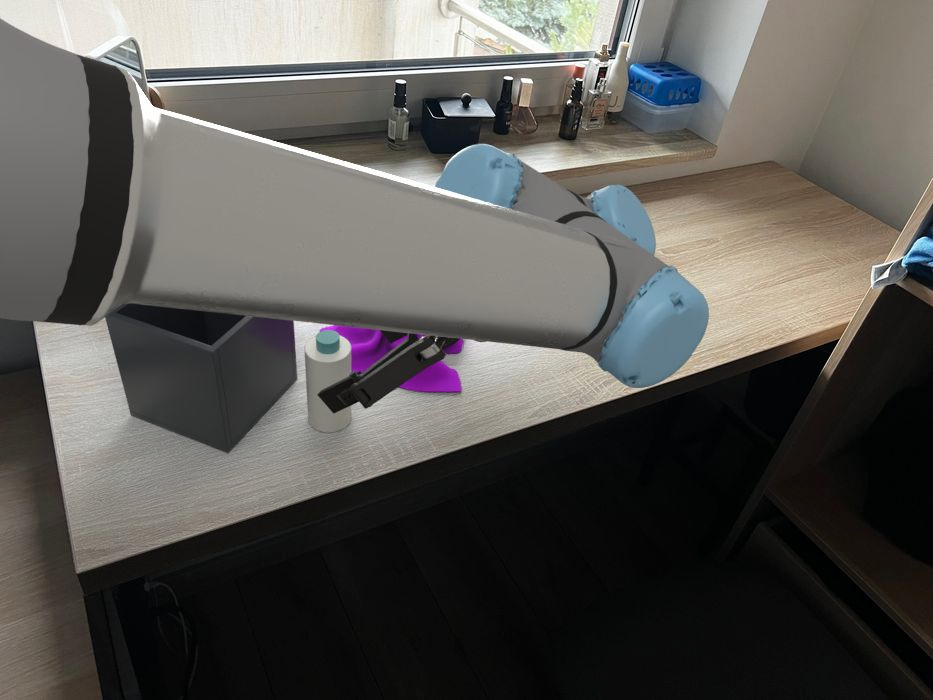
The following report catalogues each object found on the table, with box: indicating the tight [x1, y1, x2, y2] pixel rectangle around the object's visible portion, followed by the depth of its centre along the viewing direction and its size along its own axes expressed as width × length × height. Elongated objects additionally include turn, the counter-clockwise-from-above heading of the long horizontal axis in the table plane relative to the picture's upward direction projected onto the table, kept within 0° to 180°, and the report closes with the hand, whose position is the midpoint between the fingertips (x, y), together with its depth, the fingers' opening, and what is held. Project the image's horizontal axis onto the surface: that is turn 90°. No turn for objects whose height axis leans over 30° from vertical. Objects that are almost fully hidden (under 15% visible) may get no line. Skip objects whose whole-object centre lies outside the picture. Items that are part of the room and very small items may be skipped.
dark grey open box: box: [104, 303, 298, 454], centre depth 85 cm, size 14×15×15 cm
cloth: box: [319, 325, 464, 393], centre depth 99 cm, size 22×19×6 cm
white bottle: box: [303, 330, 352, 433], centre depth 84 cm, size 5×5×12 cm
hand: (357, 365), depth 81 cm, fingers open, 13 cm apart
